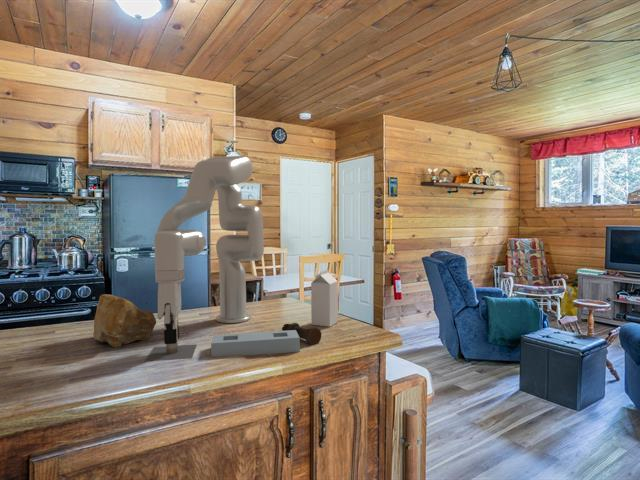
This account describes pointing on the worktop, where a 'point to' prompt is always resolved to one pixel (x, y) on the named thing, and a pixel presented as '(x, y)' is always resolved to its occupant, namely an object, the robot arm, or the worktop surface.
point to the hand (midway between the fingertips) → (171, 340)
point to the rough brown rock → (121, 321)
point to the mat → (161, 354)
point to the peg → (172, 347)
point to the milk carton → (324, 300)
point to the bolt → (305, 332)
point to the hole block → (255, 343)
